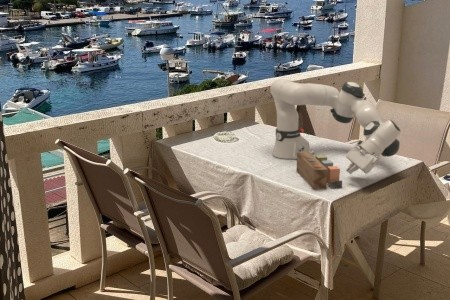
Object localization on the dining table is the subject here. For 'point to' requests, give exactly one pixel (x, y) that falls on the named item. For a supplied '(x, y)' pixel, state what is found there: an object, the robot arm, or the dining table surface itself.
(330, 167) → the terracotta key
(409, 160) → the dining table surface
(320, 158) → the olive key
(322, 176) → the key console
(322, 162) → the slate key
